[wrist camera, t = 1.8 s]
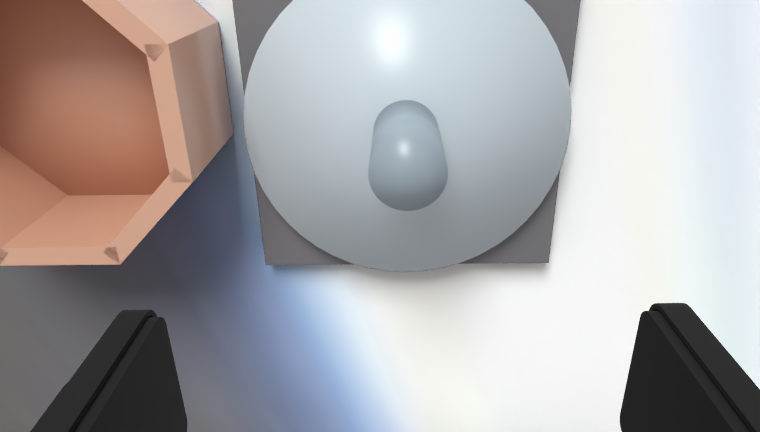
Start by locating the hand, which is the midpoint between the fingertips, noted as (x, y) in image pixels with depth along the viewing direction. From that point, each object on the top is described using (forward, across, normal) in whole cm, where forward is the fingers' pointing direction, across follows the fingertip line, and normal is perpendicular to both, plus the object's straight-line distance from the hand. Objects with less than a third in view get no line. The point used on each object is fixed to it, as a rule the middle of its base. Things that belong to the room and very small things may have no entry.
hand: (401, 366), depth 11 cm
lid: (+16, 0, 0) cm, 16 cm away
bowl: (+17, +13, -2) cm, 22 cm away
